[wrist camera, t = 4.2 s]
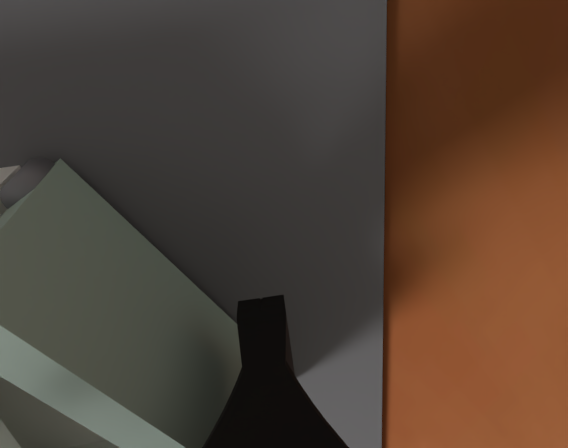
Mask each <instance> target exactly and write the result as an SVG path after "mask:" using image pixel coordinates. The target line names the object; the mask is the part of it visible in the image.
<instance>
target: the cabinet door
mask: <svg viewBox="0 0 568 448" xmlns="http://www.w3.org/2000/svg"><path fill="white" fill-rule="evenodd" d="M0 199H1V202H2V204H3V205H4V206H5V207H6V208H7V210H6V211H5V212H4V214H3V215H2V216H1V217H0V377H2V378H4V379H5V380H7V381H9V382H10V383H12V384H14V385H15V386H17V387H19V388H20V389H22V390H24V391H25V392H27V393H29V394H31V395H32V396H34V397H36V398H37V399H39V400H41V401H42V402H44V403H46V404H47V405H49V406H51V407H52V408H54V409H56V410H57V411H59V412H61V413H62V414H64V415H66V416H67V417H69V418H71V419H73V420H74V421H76V422H78V423H79V424H81V425H83V426H84V427H86V428H88V429H89V430H91V431H93V432H94V433H96V434H98V435H99V436H101V437H103V438H104V439H106V440H108V441H109V442H111V443H113V444H115V445H116V446H118V447H120V448H202V447H203V445H204V444H205V442H206V440H207V439H208V437H209V435H210V433H211V431H212V430H213V428H214V426H215V424H216V422H217V421H218V419H219V417H220V415H221V413H222V411H223V409H224V407H225V405H226V403H227V401H228V399H229V397H230V395H231V392H232V390H233V388H234V386H235V383H236V381H237V378H238V376H239V373H240V371H241V368H242V362H241V354H240V345H239V336H238V328H237V324H236V323H235V322H234V321H233V320H232V319H231V318H230V317H229V316H228V315H227V314H226V313H225V312H224V311H223V310H221V309H220V308H219V307H218V306H217V305H216V304H215V303H214V302H213V301H212V300H211V299H210V298H209V297H208V296H207V295H206V294H204V293H203V292H202V291H201V290H200V289H199V288H198V287H197V286H196V285H195V284H194V283H193V282H192V281H191V280H190V279H188V278H187V277H186V276H185V275H184V274H183V273H182V272H181V271H180V270H179V269H178V268H177V267H176V266H175V265H174V264H172V263H171V262H170V261H169V260H168V259H167V258H166V257H165V256H164V255H163V254H162V253H161V252H160V251H159V250H158V249H157V248H155V247H154V246H153V245H152V244H151V243H150V242H149V241H148V240H147V239H146V238H145V237H144V236H143V235H142V234H141V233H139V232H138V231H137V230H136V229H135V228H134V227H133V226H132V225H131V224H130V223H129V222H128V221H127V220H126V219H125V218H123V217H122V216H121V215H120V214H119V213H118V212H117V211H116V210H115V209H114V208H113V207H112V206H111V205H110V204H109V203H108V202H106V201H105V200H104V199H103V198H102V197H101V196H100V195H99V194H98V193H97V192H96V191H95V190H94V189H93V188H92V187H90V186H89V185H88V184H87V183H86V182H85V181H84V180H83V179H82V178H81V177H80V176H79V175H78V174H77V173H76V172H74V171H73V170H72V169H71V168H70V167H69V166H68V165H67V164H66V163H65V162H64V161H63V160H62V159H59V160H58V161H57V162H55V163H53V162H52V161H50V160H48V159H45V158H40V157H38V158H32V159H30V160H29V161H28V162H27V163H26V164H25V165H24V166H23V167H22V168H21V169H20V170H19V171H18V172H17V173H16V174H15V175H14V176H13V177H12V178H11V179H10V180H9V181H8V182H7V183H6V184H5V185H4V186H3V187H2V188H1V190H0Z"/></svg>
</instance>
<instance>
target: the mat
mask: <svg viewBox="0 0 568 448" xmlns="http://www.w3.org/2000/svg"><path fill="white" fill-rule="evenodd" d="M386 33H387V0H0V168H4V167H11V166H18V165H20V167H21V168H22V167H23V166H24V165H25V164H26V163H27V162H28V161H29V160H30V159H32V158H38V157H40V158H45V159H48V160H50V161H52V162H53V163H55V162H57V161H58V160H59V159H62V160H63V161H64V162H65V163H66V164H67V165H68V166H69V167H70V168H71V169H72V170H73V171H74V172H76V173H77V174H78V175H79V176H80V177H81V178H82V179H83V180H84V181H85V182H86V183H87V184H88V185H89V186H90V187H92V188H93V189H94V190H95V191H96V192H97V193H98V194H99V195H100V196H101V197H102V198H103V199H104V200H105V201H106V202H108V203H109V204H110V205H111V206H112V207H113V208H114V209H115V210H116V211H117V212H118V213H119V214H120V215H121V216H122V217H123V218H125V219H126V220H127V221H128V222H129V223H130V224H131V225H132V226H133V227H134V228H135V229H136V230H137V231H138V232H139V233H141V234H142V235H143V236H144V237H145V238H146V239H147V240H148V241H149V242H150V243H151V244H152V245H153V246H154V247H155V248H157V249H158V250H159V251H160V252H161V253H162V254H163V255H164V256H165V257H166V258H167V259H168V260H169V261H170V262H171V263H172V264H174V265H175V266H176V267H177V268H178V269H179V270H180V271H181V272H182V273H183V274H184V275H185V276H186V277H187V278H188V279H190V280H191V281H192V282H193V283H194V284H195V285H196V286H197V287H198V288H199V289H200V290H201V291H202V292H203V293H204V294H206V295H207V296H208V297H209V298H210V299H211V300H212V301H213V302H214V303H215V304H216V305H217V306H218V307H219V308H220V309H221V310H223V311H224V312H225V313H226V314H227V315H228V316H229V317H230V318H231V319H232V320H233V321H234V322H235V323H236V324H237V307H238V301H243V300H249V299H256V298H260V299H262V298H263V297H270V296H277V295H284V301H285V309H286V316H287V323H288V330H289V337H290V344H291V351H292V358H293V366H294V373H295V376H296V378H297V380H298V381H299V383H300V384H301V386H302V387H303V389H304V390H305V392H306V393H307V395H308V396H309V398H310V399H311V401H312V402H313V403H314V405H315V406H316V407H317V409H318V410H319V411H320V413H321V414H322V416H323V417H324V418H325V419H326V421H327V422H328V423H329V424H330V425H331V427H332V428H333V429H334V430H335V431H336V433H337V434H338V435H339V436H340V437H341V439H342V440H343V441H344V442H345V443H346V445H347V446H348V447H349V448H382V374H383V289H384V204H385V118H386Z"/></svg>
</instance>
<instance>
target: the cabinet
mask: <svg viewBox="0 0 568 448" xmlns="http://www.w3.org/2000/svg"><path fill="white" fill-rule="evenodd" d="M20 169H21V167H20V165H18V166H11V167H4V168H0V190H1V188H2V187H3V186H4V185H5V184H6V183H7V182H8V181H9V180H10V179H11V178H12V177H13V176H14V175H15V174H16V173H17V172H18V171H19V170H20ZM6 210H7V208H6V207H5V206H4V205H3V204H2V202H1V199H0V217H1V216H2V215H3V214H4V212H5V211H6ZM0 448H120V447H118V446H116V445H115V444H113V443H111V442H109V441H108V440H106V439H104V438H103V437H101V436H99V435H98V434H96V433H94V432H93V431H91V430H89V429H88V428H86V427H84V426H83V425H81V424H79V423H78V422H76V421H74V420H73V419H71V418H69V417H67V416H66V415H64V414H62V413H61V412H59V411H57V410H56V409H54V408H52V407H51V406H49V405H47V404H46V403H44V402H42V401H41V400H39V399H37V398H36V397H34V396H32V395H31V394H29V393H27V392H25V391H24V390H22V389H20V388H19V387H17V386H15V385H14V384H12V383H10V382H9V381H7V380H5V379H4V378H2V377H0Z"/></svg>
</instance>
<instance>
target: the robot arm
mask: <svg viewBox="0 0 568 448" xmlns="http://www.w3.org/2000/svg"><path fill="white" fill-rule="evenodd" d="M237 328H238V336H239V345H240V354H241V362H242V368H241V371H240V373H239V376H238V378H237V381H236V383H235V386H234V388H233V390H232V392H231V395H230V397H229V399H228V401H227V403H226V405H225V407H224V409H223V411H222V413H221V415H220V417H219V419H218V421H217V422H216V424H215V426H214V428H213V430H212V431H211V433H210V435H209V437H208V439H207V440H206V442H205V444H204V445H203V447H202V448H349V447H348V446H347V445H346V443H345V442H344V441H343V440H342V439H341V437H340V436H339V435H338V434H337V433H336V431H335V430H334V429H333V428H332V427H331V425H330V424H329V423H328V422H327V421H326V419H325V418H324V417H323V416H322V414H321V413H320V411H319V410H318V409H317V407H316V406H315V405H314V403H313V402H312V401H311V399H310V398H309V396H308V395H307V393H306V392H305V390H304V389H303V387H302V386H301V384H300V383H299V381H298V380H297V378H296V376H295V373H294V366H293V358H292V351H291V344H290V337H289V330H288V323H287V316H286V309H285V301H284V295H277V296H270V297H263V298H262V299H260V298H256V299H249V300H243V301H238V307H237Z"/></svg>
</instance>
